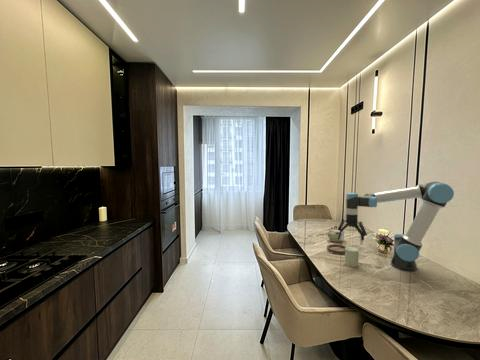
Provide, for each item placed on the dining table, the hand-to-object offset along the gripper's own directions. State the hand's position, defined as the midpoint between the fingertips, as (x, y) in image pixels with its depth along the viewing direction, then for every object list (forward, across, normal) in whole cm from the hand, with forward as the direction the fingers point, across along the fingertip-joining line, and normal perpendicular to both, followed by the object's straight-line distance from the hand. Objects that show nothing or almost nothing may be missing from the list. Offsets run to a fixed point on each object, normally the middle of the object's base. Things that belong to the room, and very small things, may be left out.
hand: (351, 242), depth 166 cm
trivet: (+17, +20, -18) cm, 31 cm away
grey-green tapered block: (+17, 0, 0) cm, 17 cm away
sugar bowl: (+17, +34, -41) cm, 56 cm away
